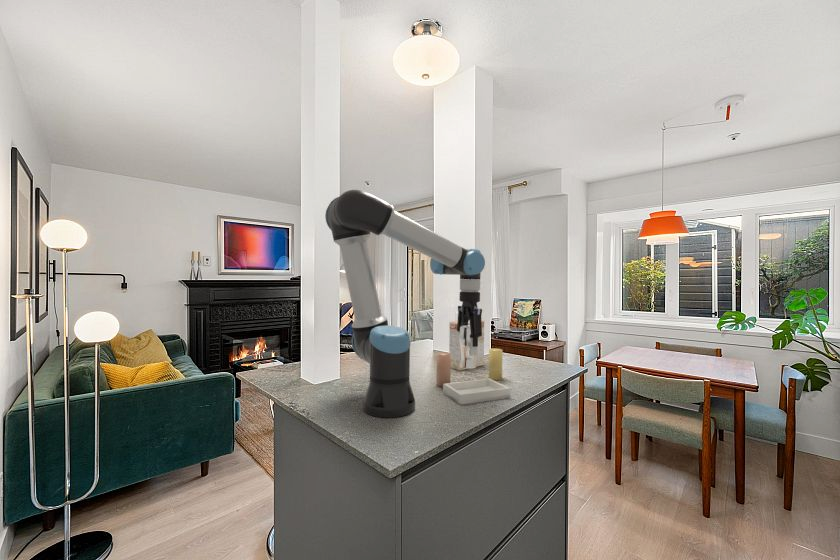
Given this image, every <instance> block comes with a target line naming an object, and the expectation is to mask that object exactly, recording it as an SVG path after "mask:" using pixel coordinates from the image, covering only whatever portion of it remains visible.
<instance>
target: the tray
mask: <svg viewBox="0 0 840 560" xmlns="http://www.w3.org/2000/svg"><path fill="white" fill-rule="evenodd" d="M442 393H443V394H444V395H446V396H448V397H449V398H451V399H452V400H453V401H454V402H456V403H458V404H459V405H468V404H474V403H475V404H476V403H481V402H482V403H483V402H488V401H494V400H495V401H496V400H502V399H507V398H508V399H509V398H511V388H510V387H508V386H506V385H504V384H502V383H500V382H498V381H497V380H492V379H490V378H489V377H488V378H482V379H471V380H466V381H465V380H464V381H457V382H454V381H453V382H450V383H446V384H443V387H442Z"/></svg>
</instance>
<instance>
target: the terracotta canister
mask: <svg viewBox="0 0 840 560" xmlns="http://www.w3.org/2000/svg"><path fill="white" fill-rule="evenodd" d="M451 369H452V368H451V354H450V353H449V352H437V353H436V373H435V374H436V376H435V377H436V381H435V382H436V386H438V387H441V388H443V384H446V383H451V376H452V374H451V371H452V370H451Z"/></svg>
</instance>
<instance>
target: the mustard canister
mask: <svg viewBox="0 0 840 560" xmlns="http://www.w3.org/2000/svg"><path fill="white" fill-rule="evenodd" d="M488 349H489V350H488V378H490V379H492V380H494V381H503V352H504V351H503V349H502V348H494V347H493V348H491V347H490V348H488Z"/></svg>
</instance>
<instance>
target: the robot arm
mask: <svg viewBox="0 0 840 560" xmlns="http://www.w3.org/2000/svg"><path fill="white" fill-rule="evenodd" d="M324 217H325V223H326V225H327V227H328V228H329V230H330V231H331V235H332V238H333V243H335V244H337V245H338V246H339V248H340V254H341V257H342V263H343V267H344V273H345V278H346V281H347V286H348V293H349V297H350V300H351V306H352V311H353V312H352V313H353V316H354V321H353V322H352V324H351V329H352V333H353V334H352V336H351V347H352V350H353V352H355V354H356V355H357V357H359V358H360V360H363V361H365V362H367V363H368V364H369V383H368V386H367V389H366V393H365V396H364V399H363V405H362V406H363V411H364V413H366V414H368V415H370V416H373V417H378V418H388V419H389V418H399V417H403V416H408V415H410V414H411V413H413V412H415V410H416V399H415V396H414V393H413V389H412V386H411V383H410V372H411V371H410V370H411V369H410V366H411V365H410V362H411V361H410V360H411V359H410V357H411V339H410V338H411V337H410V334H409V333H410V332H409V331H408V330H407V329H406V328H403V327H401V326H395V325H389V323H388V322H389V321H388V318H387V317H386V316H385V315H383V314H382V310H381V305H380V301H379V296H378V295H379V294H378V291H377V285H376V281H375V276H374V271H373V266H372V265H373V264H372V262H371V256H370V250H369V245H368V240H369V239H370V237H371V233H372V234H374V235H376V236H381V235H384V236H386V237H388V238H390V239H392V240H394V241H397V242H398V243H400V244H402V245H404V246H406V247H408V248H410V249H412V250H413V251H416V252H418V253H420V254H422V255H425V256H426V257H428V258H430V261H429V266H430V270H431V272H432V273H433V274H434V275H451V276H452V275H454V276H455V275H458V276H459V290H460V292H459V302H461V303H462V305H458V306H457V320H456V321H457V331H459V333H460V326H461V325H468V322H470V329H471V336H470V356H475V355H477V347H478V337H481V336H482V321H483V320H482V314H483V313H482V312H483V309H482V308H478V303H479V302H480V301H481V293H480V290H481V276H482V275H481V273H482V272H483V270H484V269H485V266H486V261H485V257H484V255H483V254H482V253H481V250H480V249H478V248H477V249H476V248H464V247H462V246H460V245H458V244H457V243H454V242H452V240H451V241H450V240H449V239H448V238H445V237H444V236H442V235H440V234H438V233H436V232H434V231H432V230H430V229H429V228H427V227H425V226H423V225H421V224H419V223H418V222H416V221H414V220H413V219H411V218H409V217H407V216H405V215H402V214H401V213H400V212H397V211H396V210H395V209H394V206H393V205H392V204H390V203H388V202H387V201H385V200H383V199H381V198H379V197H377V196H375V195H373V194H371V193H370V192H366V191H365V190H361V189H351V190H347V191H344V192H343V193H341V194H340V195H339V196H337V197H335V198H333V199H332V200H331V201H330V202H329V204H328V206H327V207H326V210H325V216H324ZM481 320H482V321H481ZM460 352H461V350H460Z"/></svg>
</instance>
